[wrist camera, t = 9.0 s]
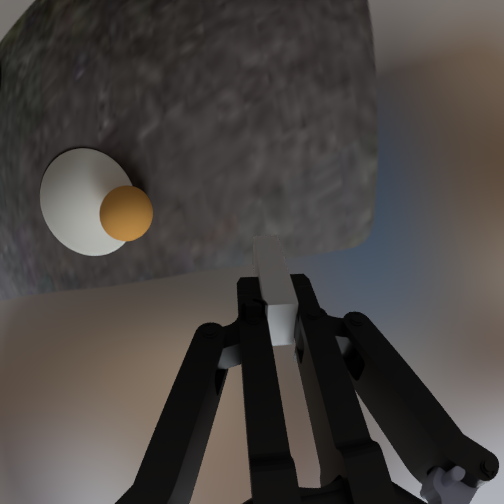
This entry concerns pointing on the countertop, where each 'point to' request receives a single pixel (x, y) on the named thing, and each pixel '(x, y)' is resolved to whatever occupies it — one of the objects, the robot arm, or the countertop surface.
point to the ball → (126, 213)
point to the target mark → (80, 199)
